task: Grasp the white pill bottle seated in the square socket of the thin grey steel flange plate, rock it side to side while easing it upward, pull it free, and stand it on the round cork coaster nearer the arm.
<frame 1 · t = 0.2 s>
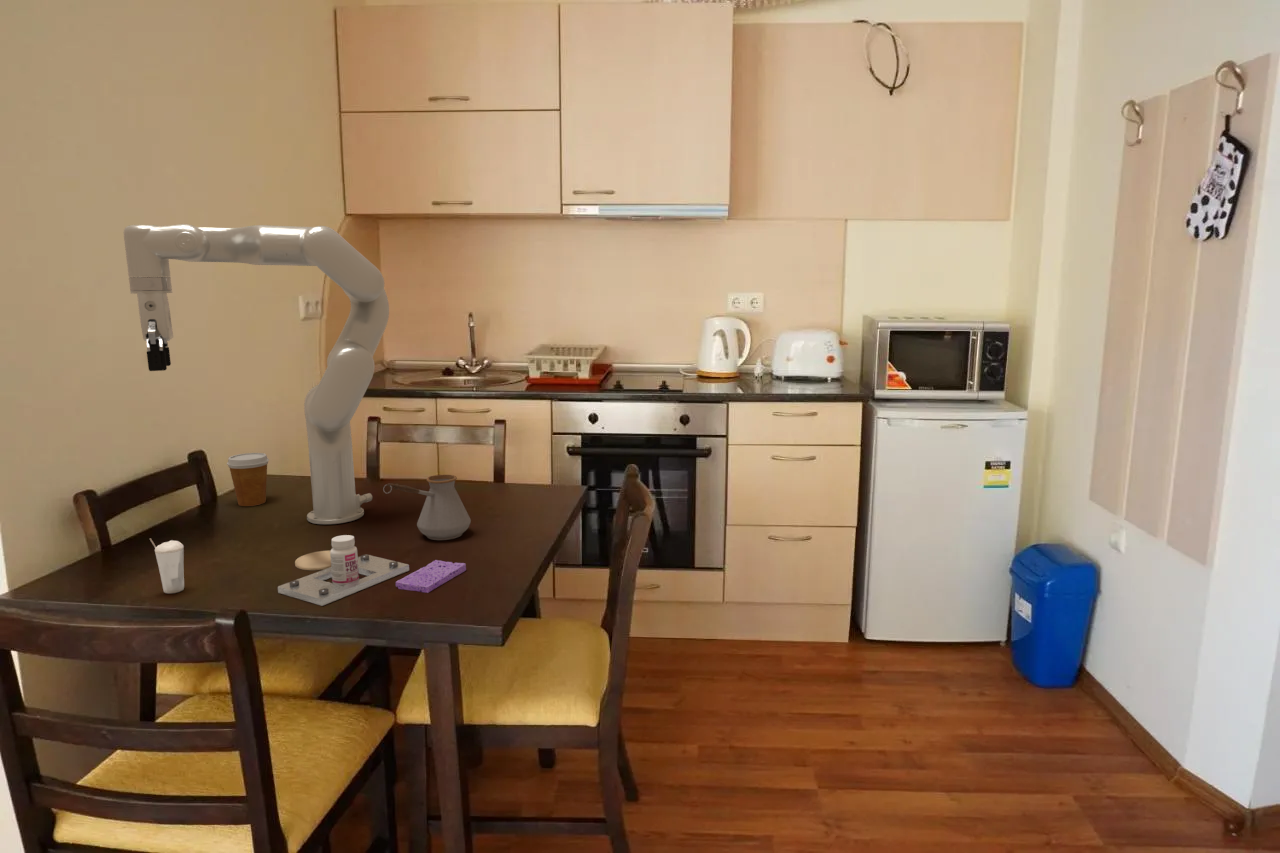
hand: (160, 368, 176), 37 cm above the table, tool pointing down, fingers open, 9 cm apart
milkshake: (171, 591, 152), on the table
flange plate: (345, 581, 155), on the table
sponges: (432, 582, 156), on the table
disposable coffee cup: (252, 503, 209), on the table
cork coaster: (322, 561, 166), on the table
coffee pot: (428, 542, 178), on the table
pill bottle: (346, 582, 155), resting in flange plate
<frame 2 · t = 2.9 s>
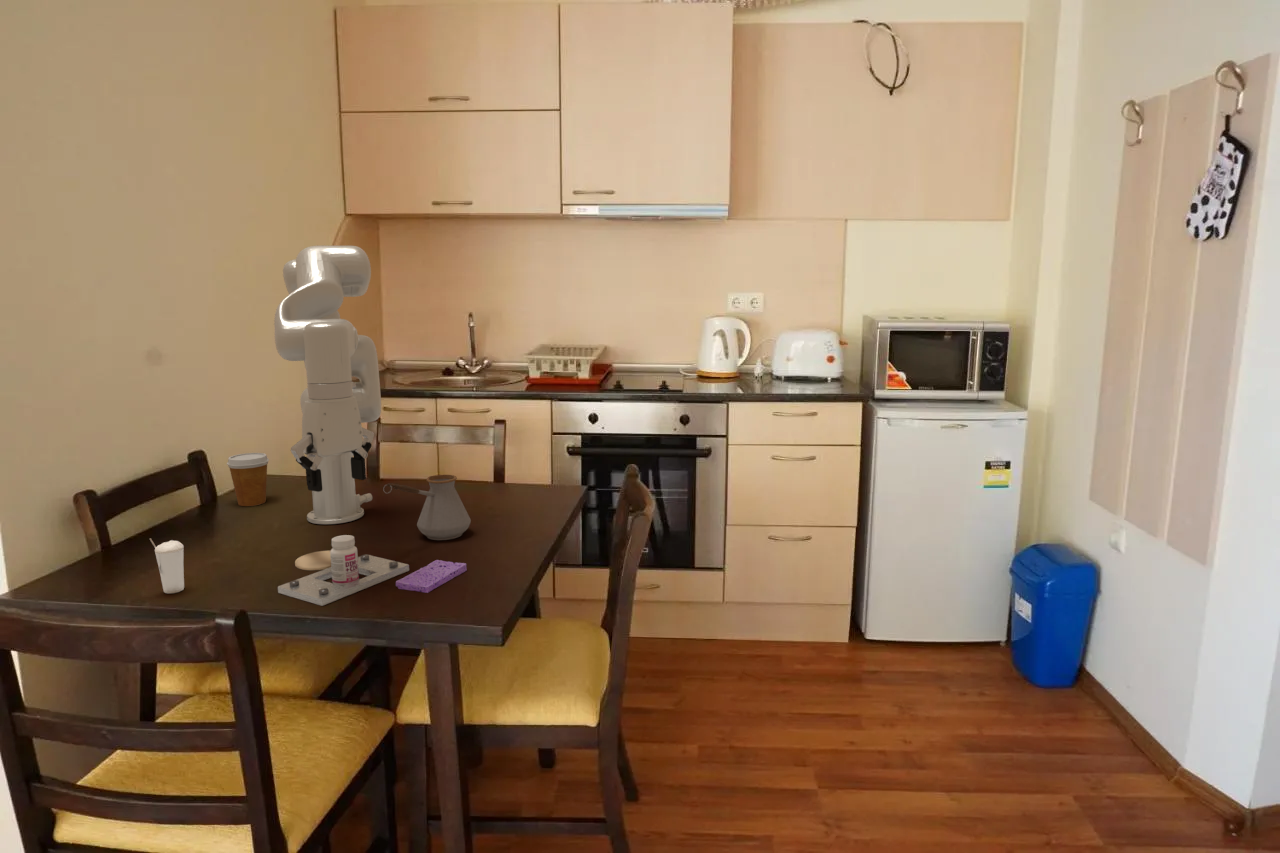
hand: (337, 484, 152), 19 cm above the table, tool pointing down, fingers open, 9 cm apart
nothing on the table moved.
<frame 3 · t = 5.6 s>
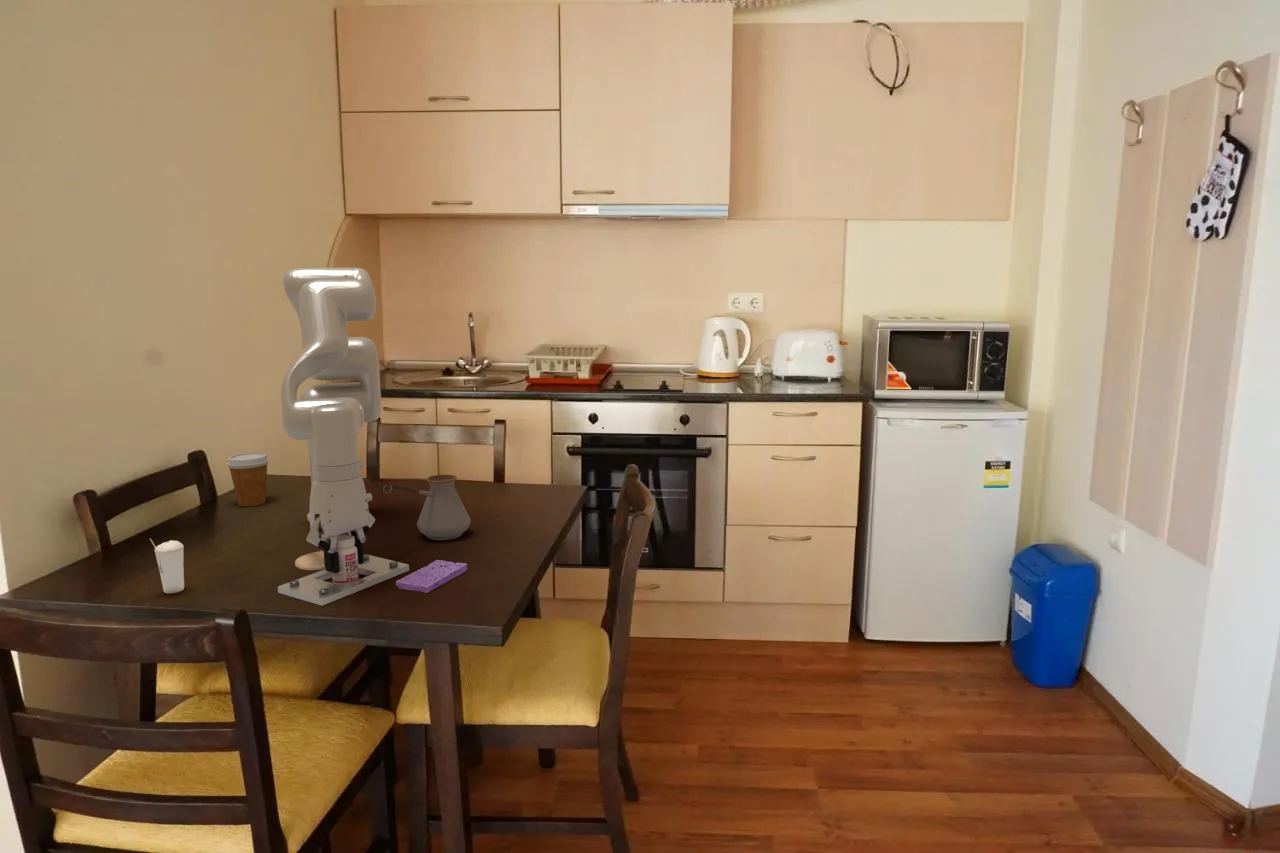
hand: (344, 566, 155), 3 cm above the table, tool pointing down, fingers closed on pill bottle, 4 cm apart
pill bottle: (346, 582, 155), resting in flange plate, touching gripper
everything else where it was.
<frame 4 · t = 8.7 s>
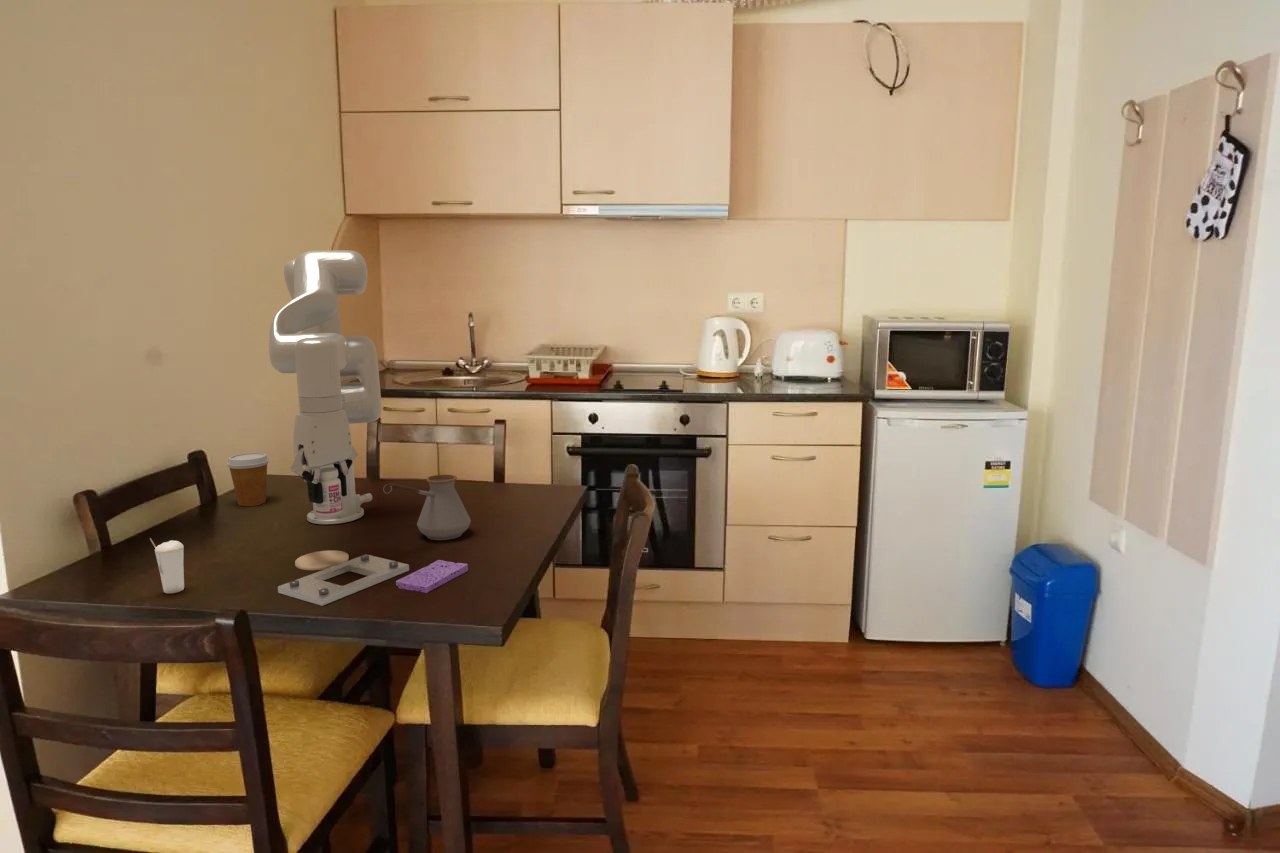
hand: (328, 497, 158), 15 cm above the table, tool pointing down, fingers closed on pill bottle, 4 cm apart
pill bottle: (329, 513, 159), point 11 cm above the table, touching gripper
everything else where it was.
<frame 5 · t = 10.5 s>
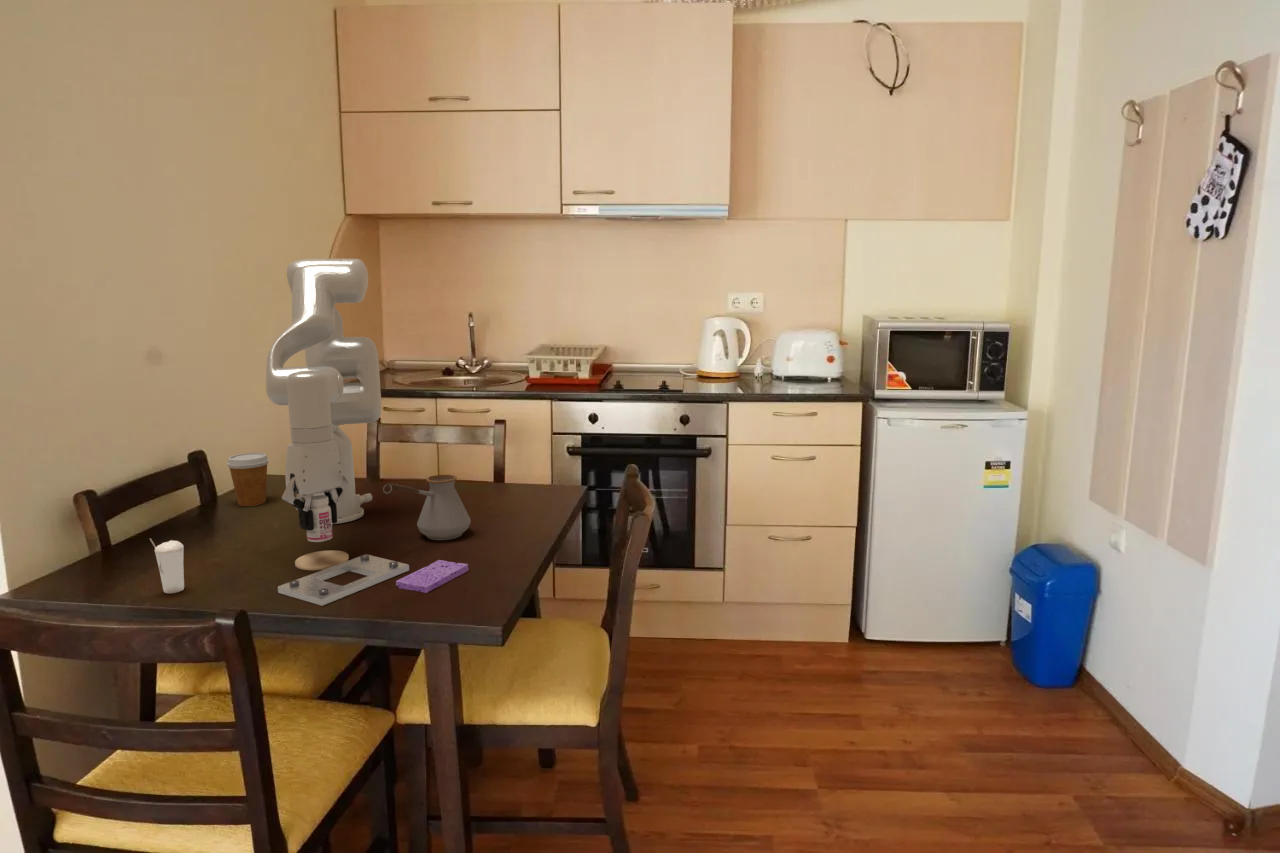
hand: (319, 524, 165), 8 cm above the table, tool pointing down, fingers closed on pill bottle, 4 cm apart
pill bottle: (320, 539, 165), point 5 cm above the table, touching gripper
everything else where it was.
when the fingers open (5 cm above the table, at t = 11.8 s): pill bottle drops 1 cm, resting on cork coaster.
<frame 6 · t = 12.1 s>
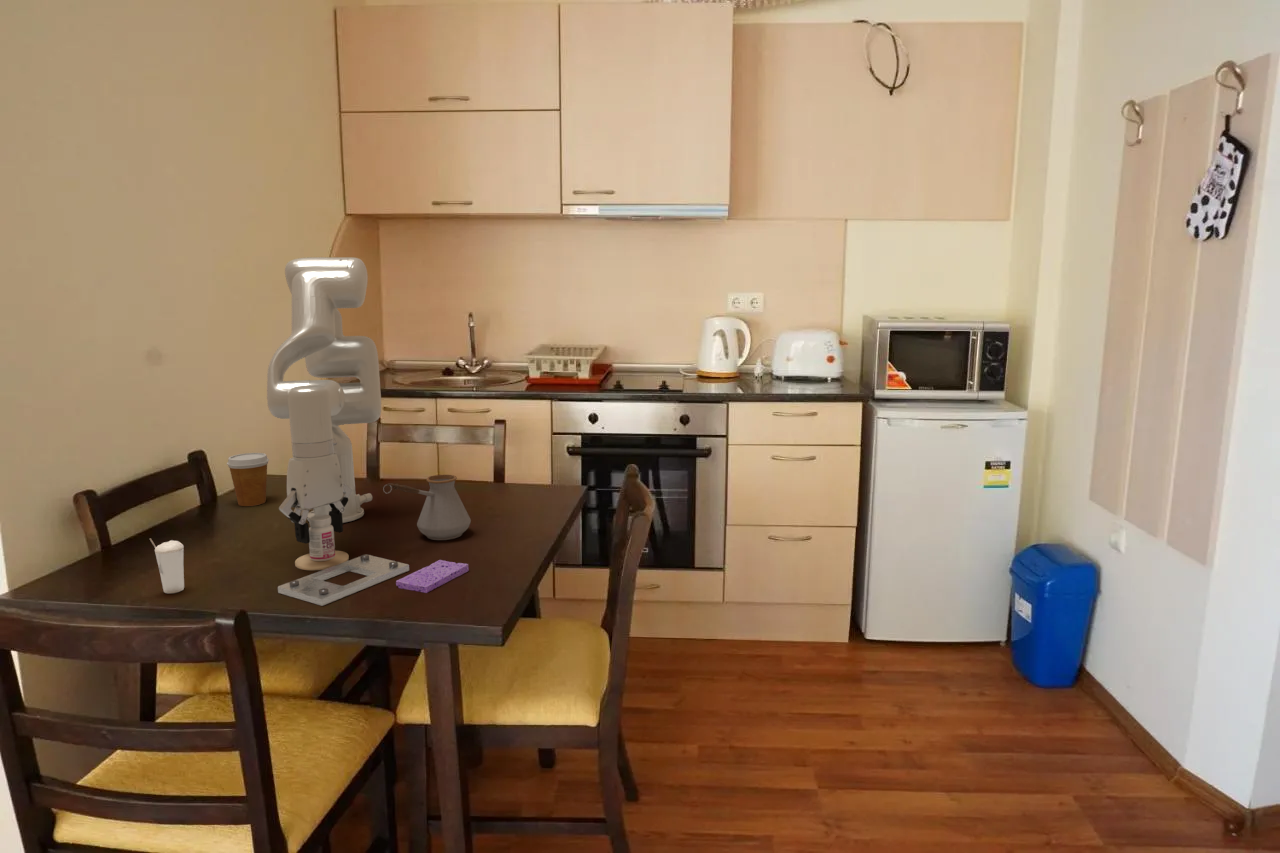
hand: (320, 536, 165), 5 cm above the table, tool pointing down, fingers open, 7 cm apart
pill bottle: (323, 558, 166), resting on cork coaster
everything else where it was.
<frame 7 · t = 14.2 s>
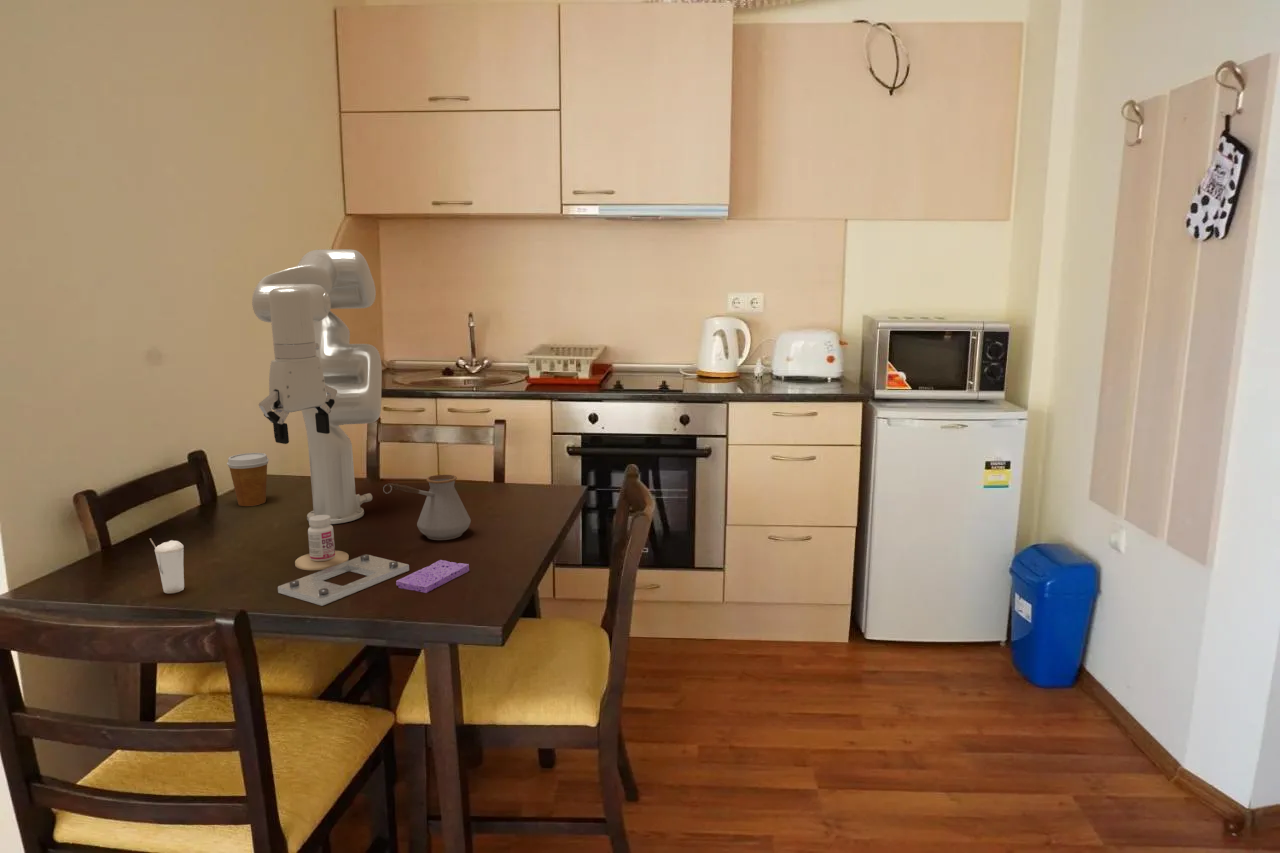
hand: (303, 437, 165), 25 cm above the table, tool pointing down, fingers open, 9 cm apart
nothing on the table moved.
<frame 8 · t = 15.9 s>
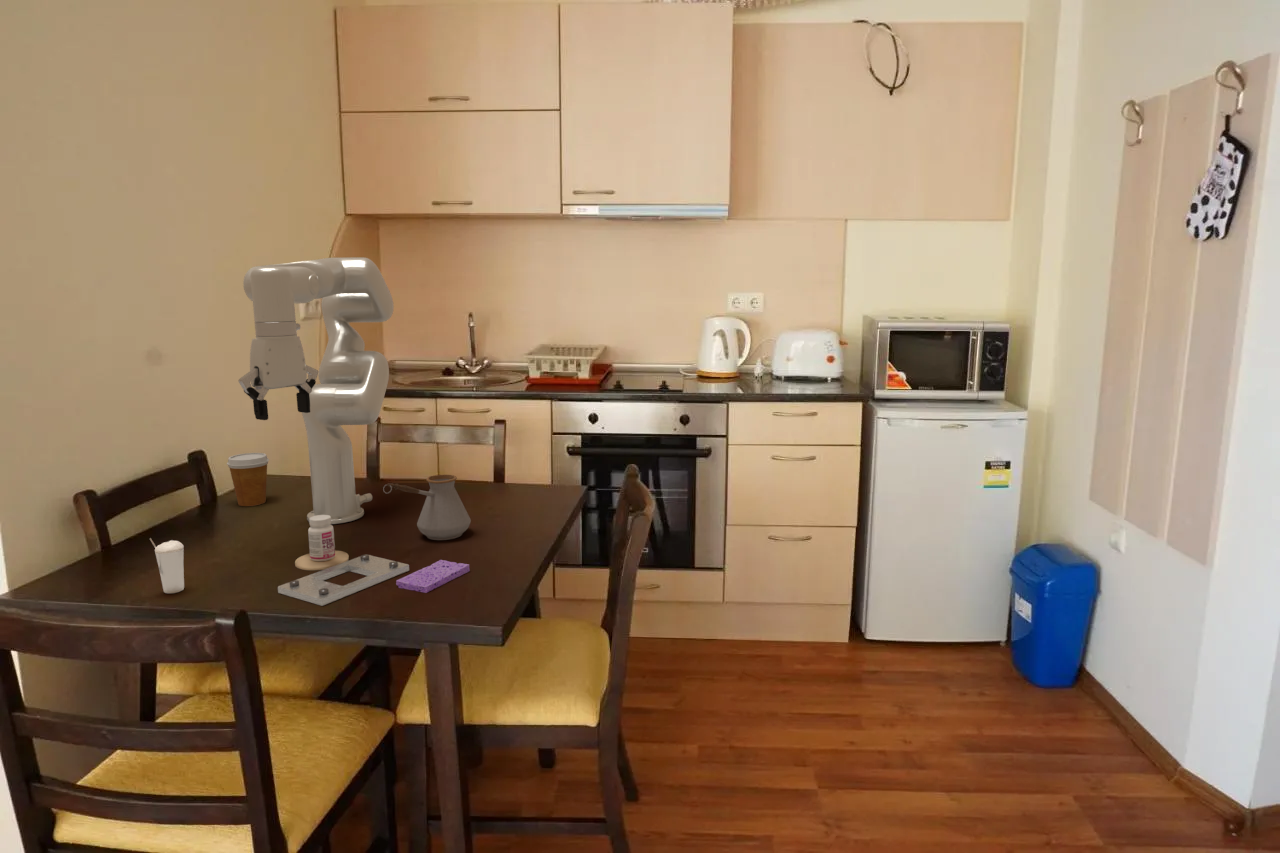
hand: (283, 415, 168), 28 cm above the table, tool pointing down, fingers open, 9 cm apart
nothing on the table moved.
at the end: pill bottle inside the target area on the cork coaster (0.3 cm from its centre), point 0.4 cm above the cork coaster's base; pill bottle tilted 0°; the gripper is holding nothing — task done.
